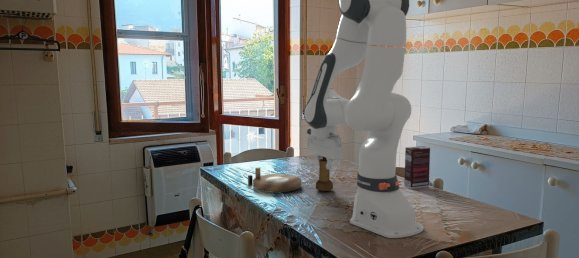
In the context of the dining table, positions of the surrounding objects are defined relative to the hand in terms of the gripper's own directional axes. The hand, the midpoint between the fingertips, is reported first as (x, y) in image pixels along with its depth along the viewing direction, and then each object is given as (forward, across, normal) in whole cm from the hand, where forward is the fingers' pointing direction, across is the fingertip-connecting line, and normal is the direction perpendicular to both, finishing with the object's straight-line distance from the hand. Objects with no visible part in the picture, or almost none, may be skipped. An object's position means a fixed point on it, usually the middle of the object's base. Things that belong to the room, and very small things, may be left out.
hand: (324, 167), depth 157 cm
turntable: (+9, +12, +14) cm, 21 cm away
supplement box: (+10, -13, -35) cm, 38 cm away
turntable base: (+9, +14, +15) cm, 23 cm away
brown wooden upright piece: (+8, 0, 0) cm, 8 cm away
